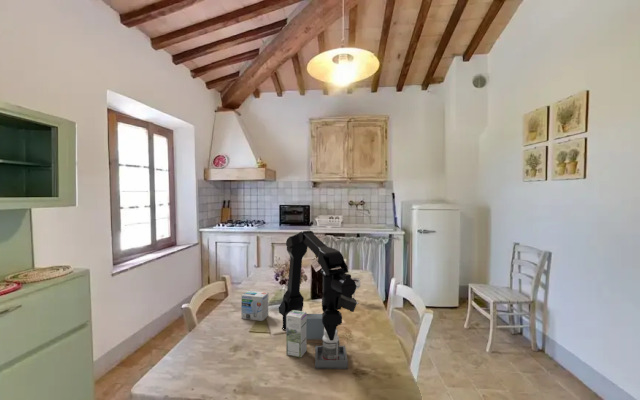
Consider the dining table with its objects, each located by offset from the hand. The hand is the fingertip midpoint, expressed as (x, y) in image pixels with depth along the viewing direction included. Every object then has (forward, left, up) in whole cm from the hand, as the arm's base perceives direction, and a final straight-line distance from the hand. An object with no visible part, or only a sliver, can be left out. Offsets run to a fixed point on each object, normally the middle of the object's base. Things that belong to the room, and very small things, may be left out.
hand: (331, 334), depth 112 cm
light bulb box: (-33, +38, -10) cm, 51 cm away
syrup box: (-12, +5, -9) cm, 16 cm away
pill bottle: (0, 0, -9) cm, 9 cm away
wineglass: (+14, +57, -9) cm, 60 cm away
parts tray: (0, 0, -9) cm, 9 cm away
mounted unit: (-6, +16, -9) cm, 19 cm away
